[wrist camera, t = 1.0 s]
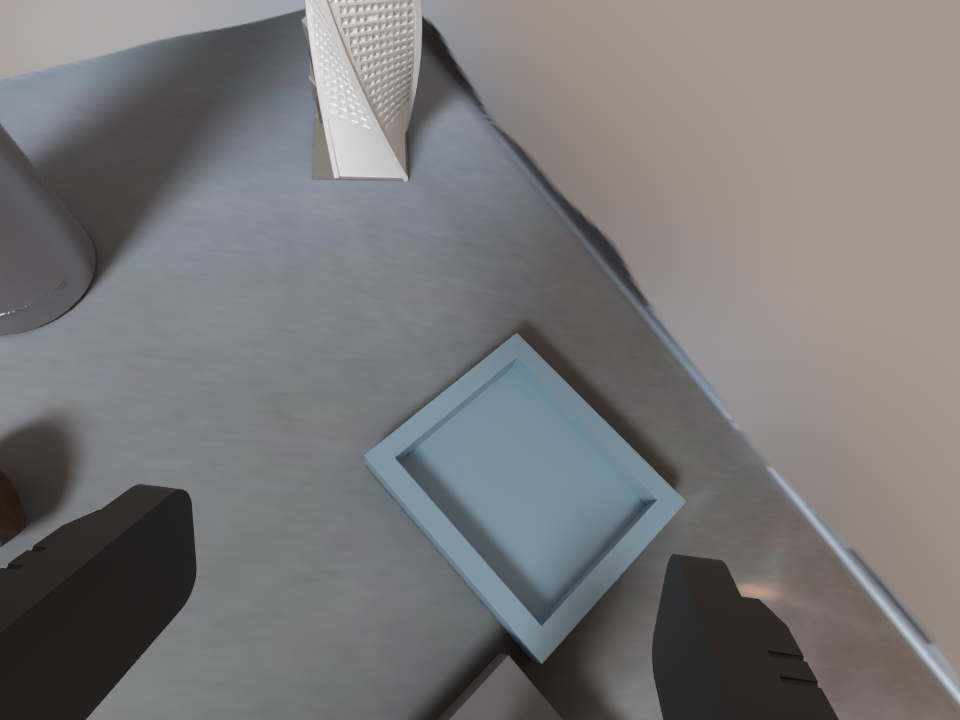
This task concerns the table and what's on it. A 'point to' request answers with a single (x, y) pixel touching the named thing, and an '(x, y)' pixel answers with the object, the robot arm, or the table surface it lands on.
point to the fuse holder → (500, 696)
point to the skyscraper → (362, 85)
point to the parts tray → (524, 493)
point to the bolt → (9, 511)
